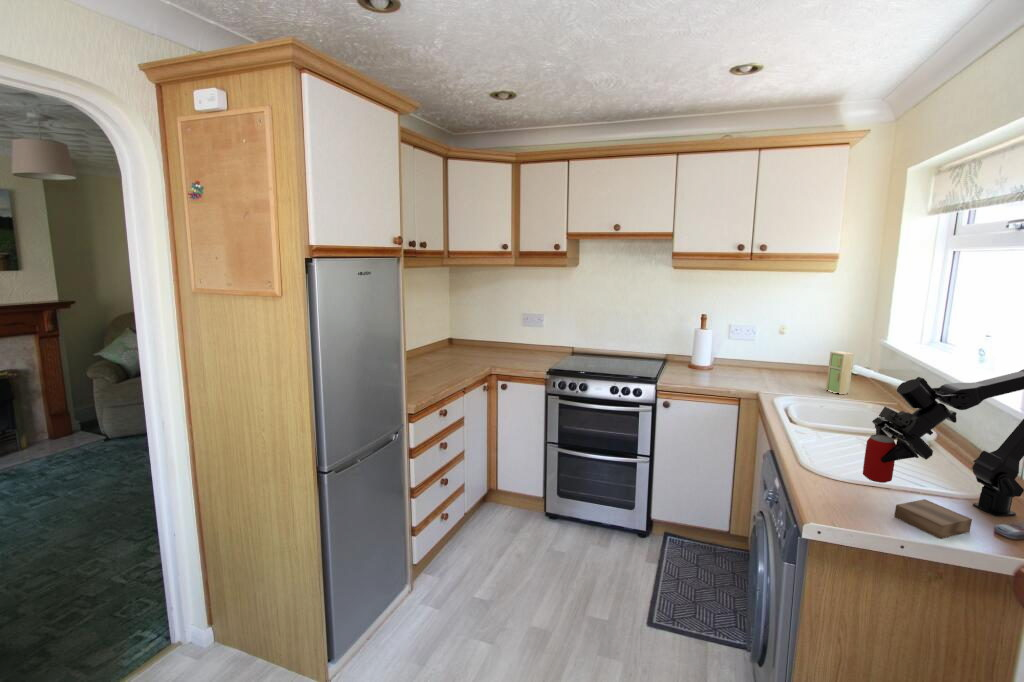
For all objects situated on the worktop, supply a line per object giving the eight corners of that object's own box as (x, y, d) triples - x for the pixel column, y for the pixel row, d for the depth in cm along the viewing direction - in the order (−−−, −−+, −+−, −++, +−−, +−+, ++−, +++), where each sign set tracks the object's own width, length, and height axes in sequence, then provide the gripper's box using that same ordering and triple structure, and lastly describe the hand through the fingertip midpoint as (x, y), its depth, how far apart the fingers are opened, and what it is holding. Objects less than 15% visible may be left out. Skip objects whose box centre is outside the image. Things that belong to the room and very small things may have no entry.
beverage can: (892, 478, 144) (898, 437, 142) (890, 486, 139) (896, 444, 137) (863, 471, 148) (869, 432, 146) (860, 479, 143) (866, 438, 141)
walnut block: (922, 511, 139) (924, 499, 139) (969, 532, 129) (972, 519, 129) (894, 517, 136) (896, 504, 135) (940, 538, 126) (942, 525, 125)
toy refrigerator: (824, 391, 266) (829, 351, 262) (834, 390, 268) (840, 350, 265) (837, 395, 258) (843, 354, 255) (848, 394, 261) (854, 353, 257)
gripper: (883, 389, 148) (838, 424, 151) (926, 408, 130) (873, 447, 133) (909, 417, 148) (863, 451, 152) (956, 440, 130) (902, 478, 133)
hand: (874, 456), depth 142 cm, fingers closed on beverage can, 7 cm apart
